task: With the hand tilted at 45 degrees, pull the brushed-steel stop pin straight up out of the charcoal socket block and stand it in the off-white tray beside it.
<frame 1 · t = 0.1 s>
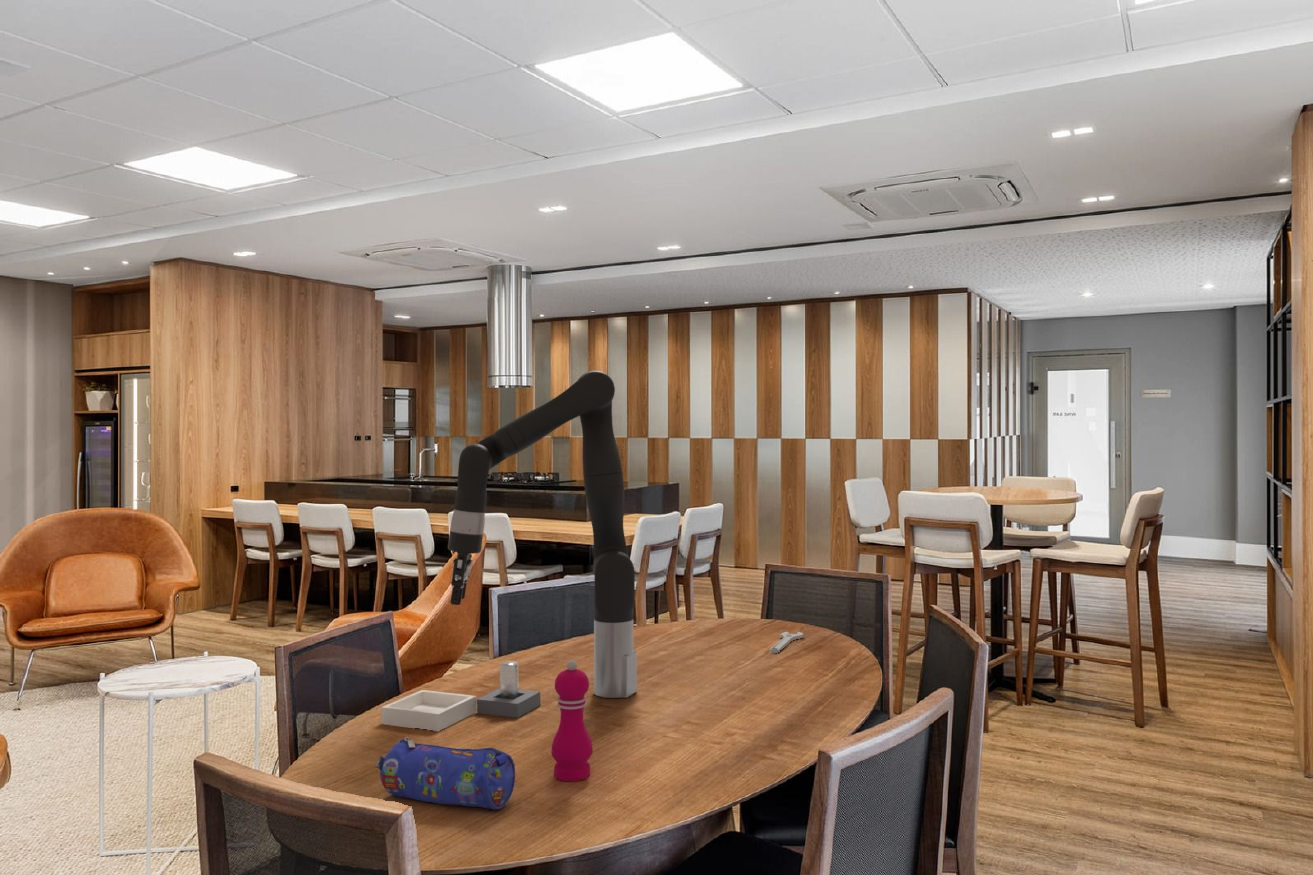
hand: (457, 601, 203), 22 cm above the table, tool pointing down, fingers open, 8 cm apart
stop pin: (509, 686, 195), in the socket block
tray: (429, 718, 189), on the table
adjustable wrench: (782, 645, 259), on the table
pencil case: (447, 802, 145), on the table
pepper mill: (572, 776, 156), on the table
socket block: (509, 709, 195), on the table
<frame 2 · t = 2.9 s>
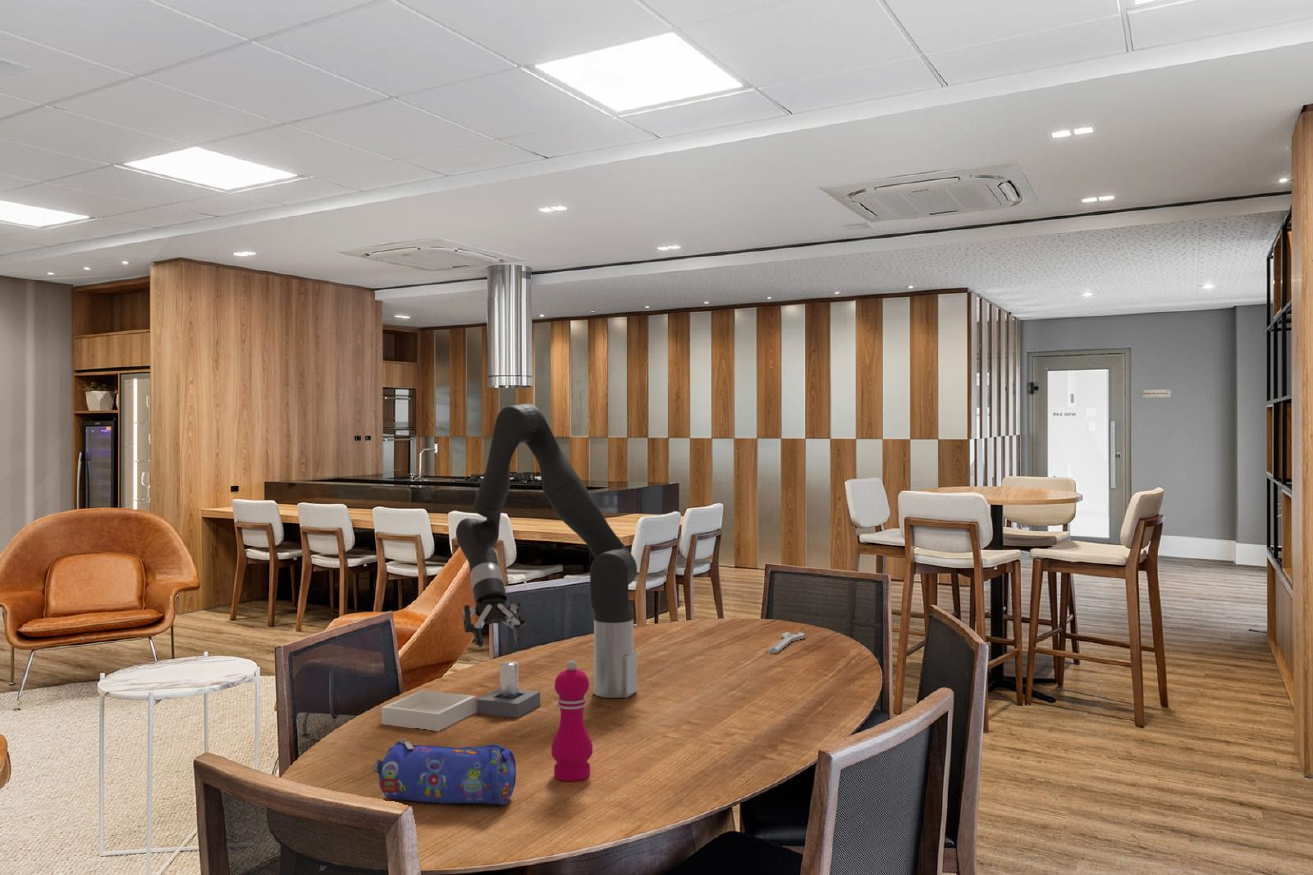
hand: (499, 643, 203), 13 cm above the table, tool tilted 45°, fingers open, 8 cm apart
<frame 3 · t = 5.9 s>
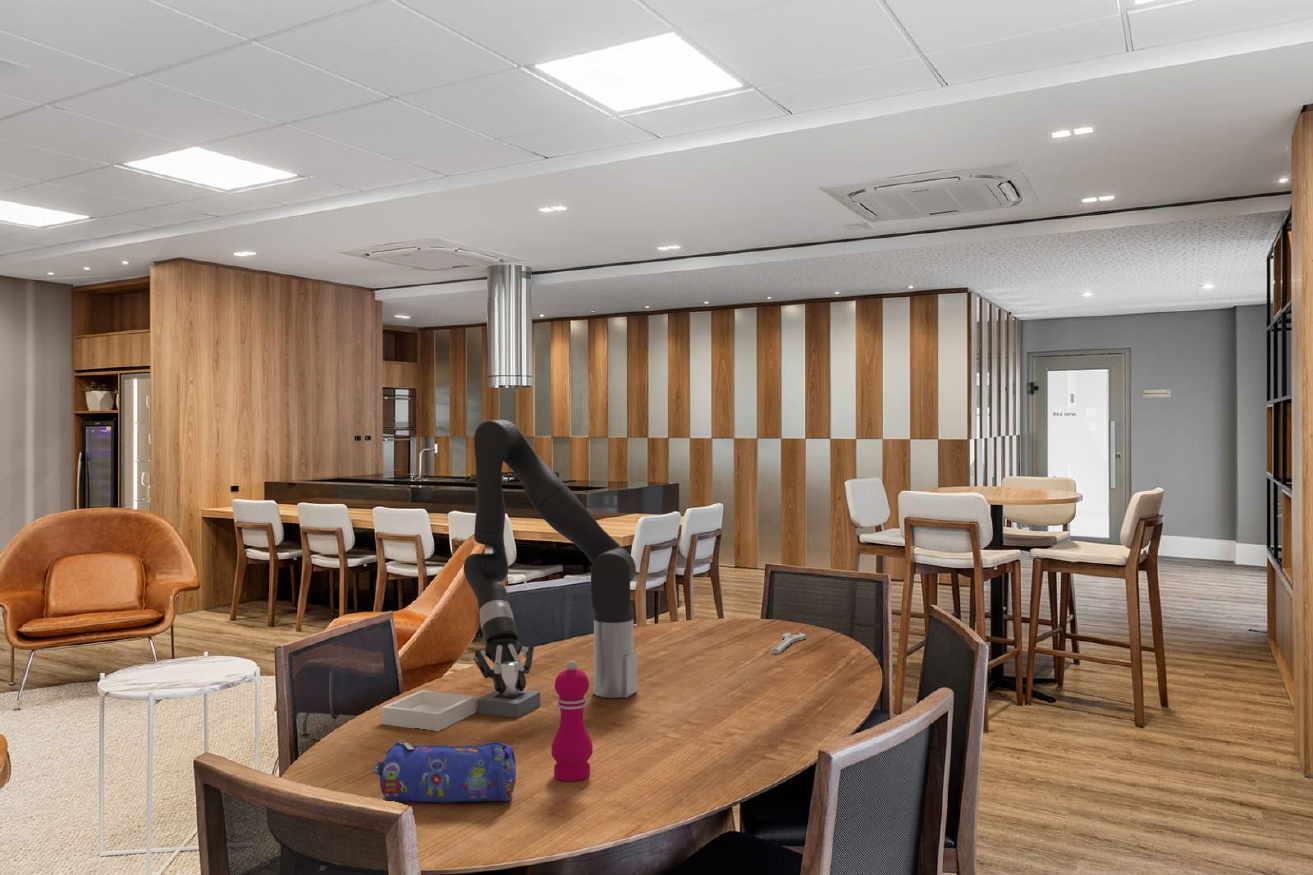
hand: (511, 690, 193), 5 cm above the table, tool tilted 45°, fingers closed on stop pin, 4 cm apart
stop pin: (509, 686, 195), in the socket block, touching gripper
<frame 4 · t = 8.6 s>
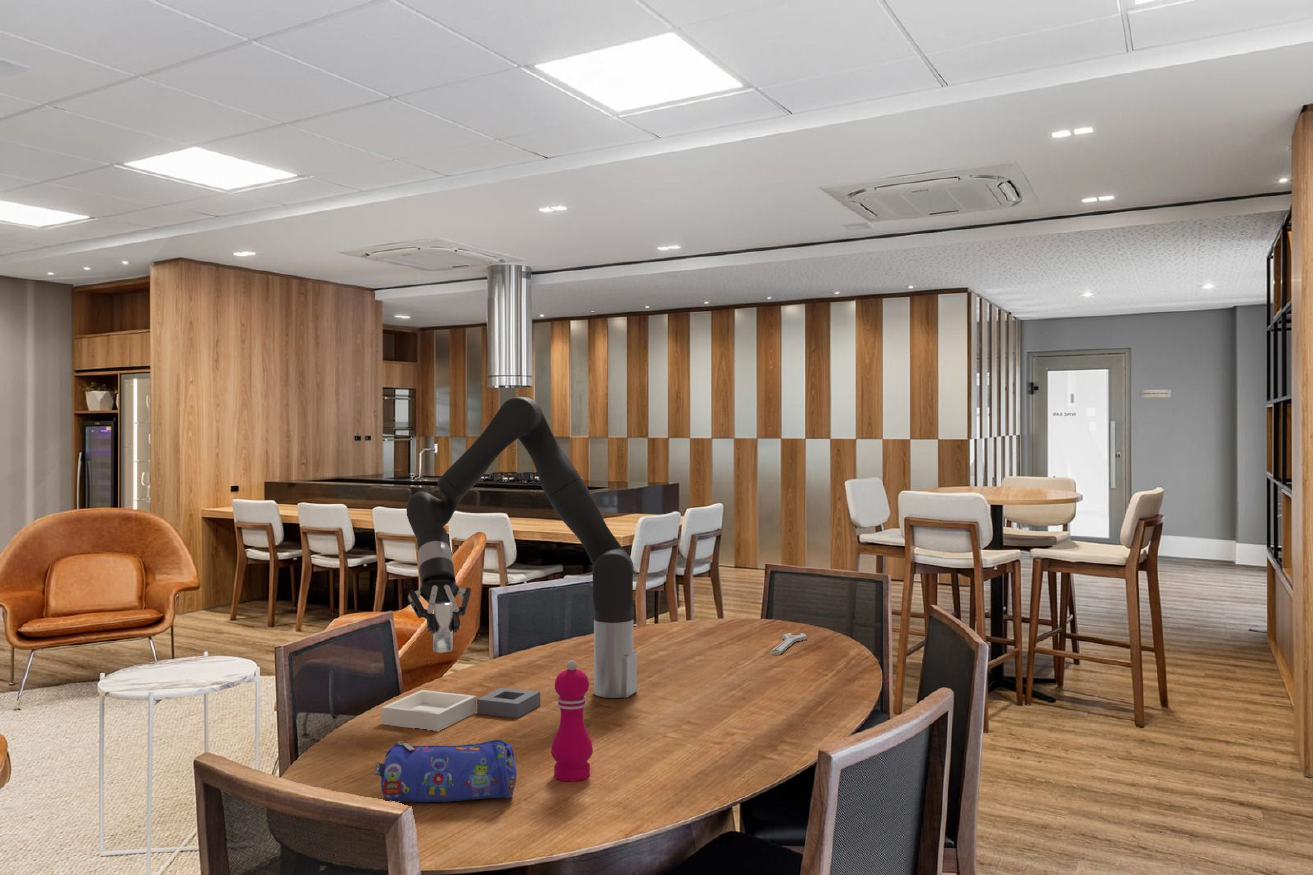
hand: (444, 630, 189), 19 cm above the table, tool tilted 45°, fingers closed on stop pin, 4 cm apart
stop pin: (443, 626, 190), point 19 cm above the table, touching gripper
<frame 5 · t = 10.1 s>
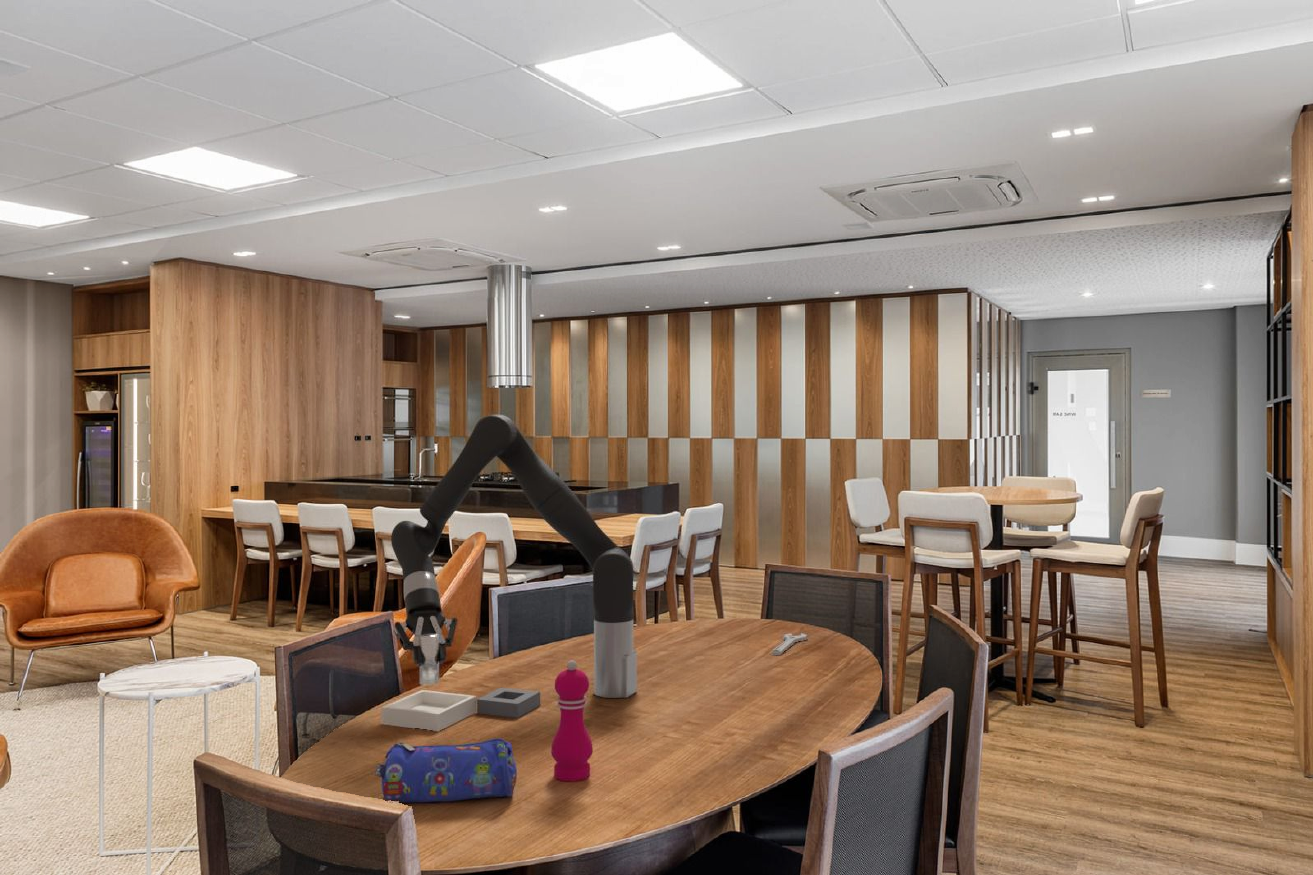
hand: (431, 663, 187), 12 cm above the table, tool tilted 45°, fingers closed on stop pin, 4 cm apart
stop pin: (429, 658, 189), point 12 cm above the table, touching gripper
when the fingers open (7 cm above the table, at t = 11.4 s): stop pin drops 1 cm, resting on tray.
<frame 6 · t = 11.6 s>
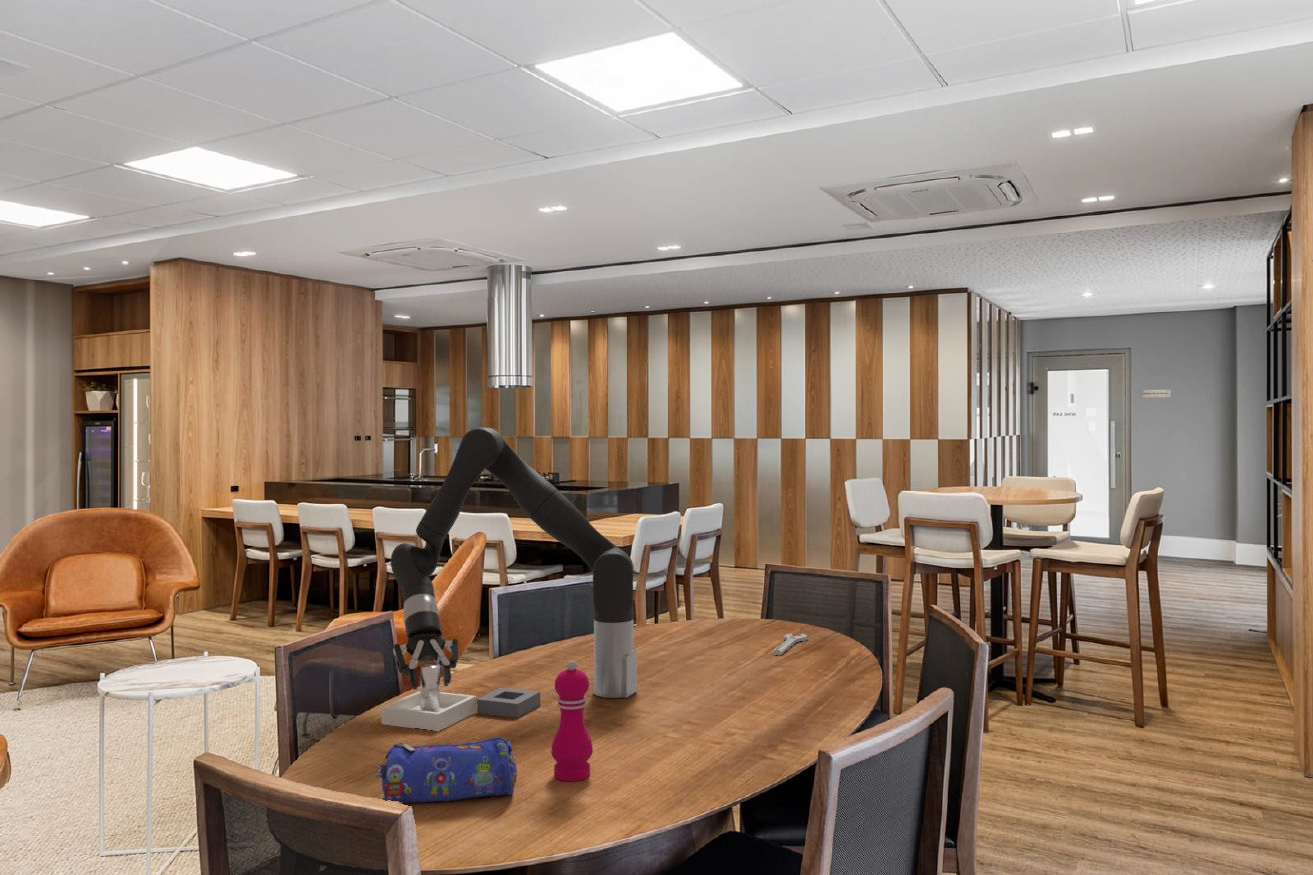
hand: (431, 685, 187), 7 cm above the table, tool tilted 45°, fingers open, 6 cm apart
stop pin: (430, 689, 189), in the tray, point 6 cm above the table
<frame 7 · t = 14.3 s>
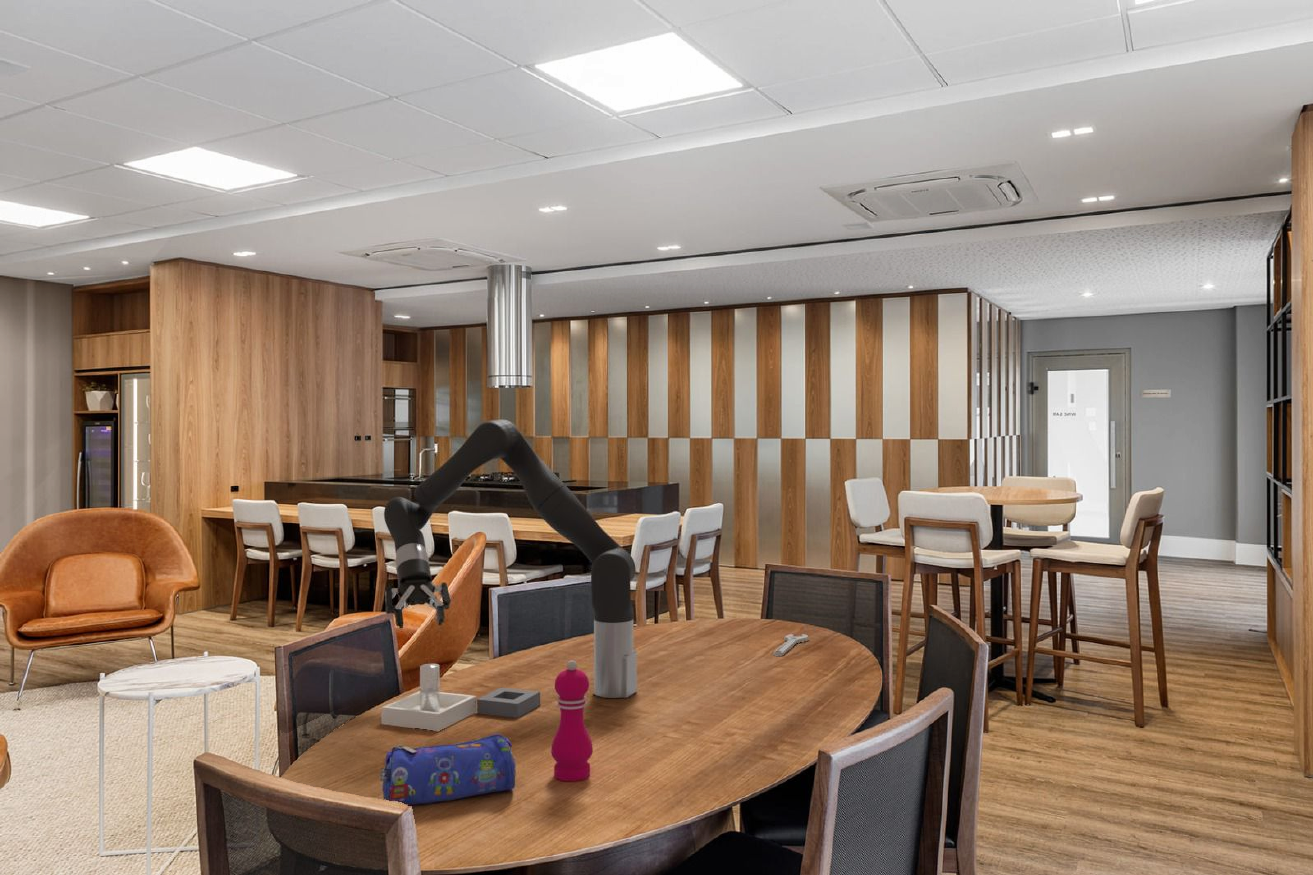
hand: (421, 624, 200), 18 cm above the table, tool tilted 45°, fingers open, 8 cm apart
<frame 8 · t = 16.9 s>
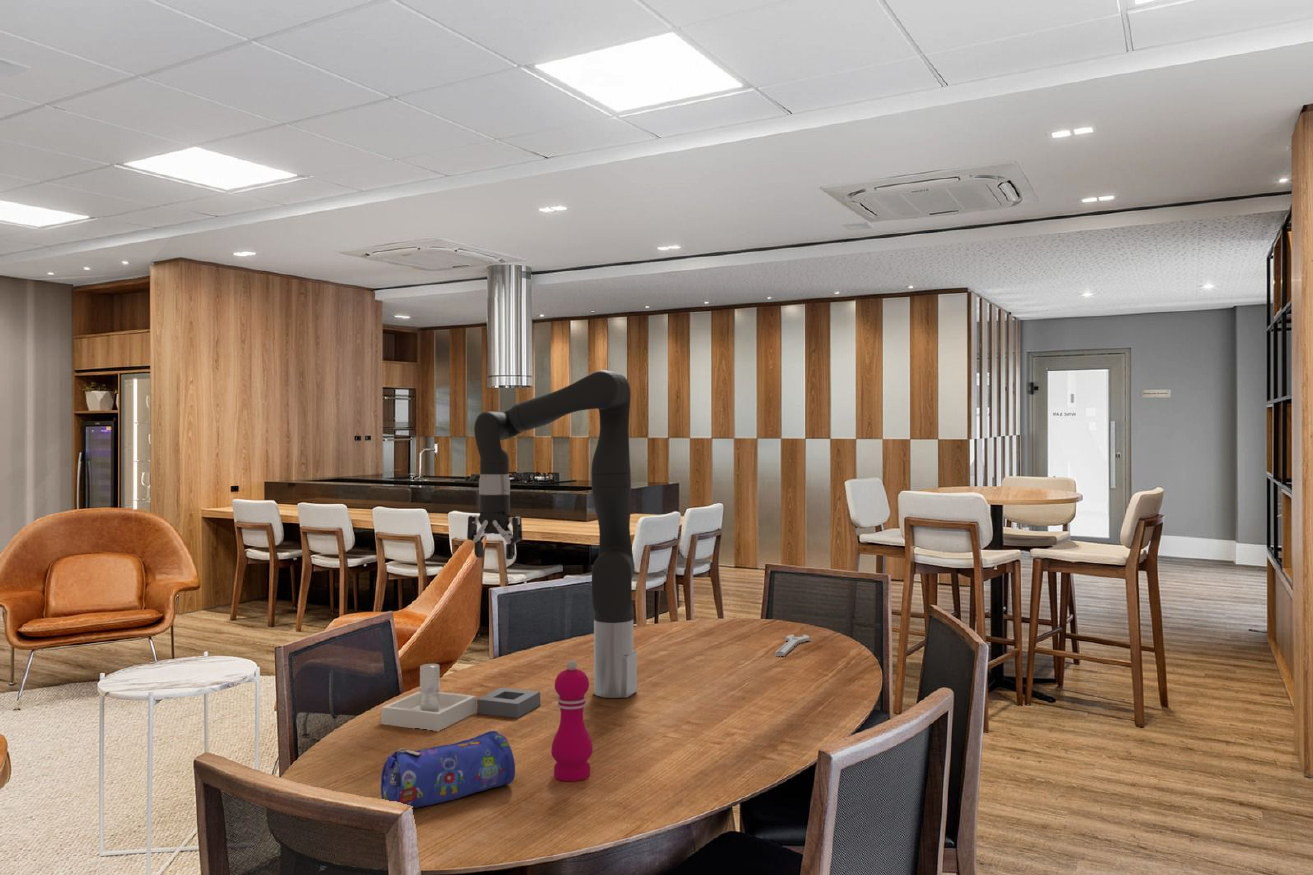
hand: (494, 558, 219), 30 cm above the table, tool pointing down, fingers open, 8 cm apart
at the end: stop pin inside the target area on the tray (0.1 cm from its centre), point 6.0 cm above the tray's base; stop pin tilted 0°; the gripper is holding nothing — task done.
